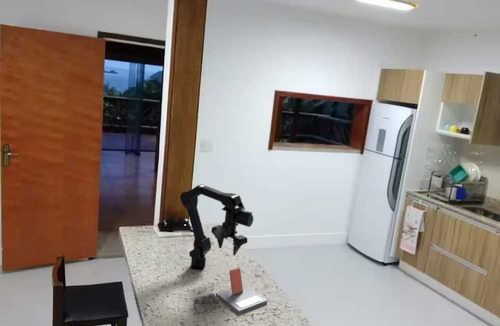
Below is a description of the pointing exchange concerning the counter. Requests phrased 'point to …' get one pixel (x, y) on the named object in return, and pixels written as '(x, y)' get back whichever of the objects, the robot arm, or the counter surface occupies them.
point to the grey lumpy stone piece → (208, 300)
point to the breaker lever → (236, 281)
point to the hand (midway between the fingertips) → (227, 251)
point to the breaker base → (241, 299)
